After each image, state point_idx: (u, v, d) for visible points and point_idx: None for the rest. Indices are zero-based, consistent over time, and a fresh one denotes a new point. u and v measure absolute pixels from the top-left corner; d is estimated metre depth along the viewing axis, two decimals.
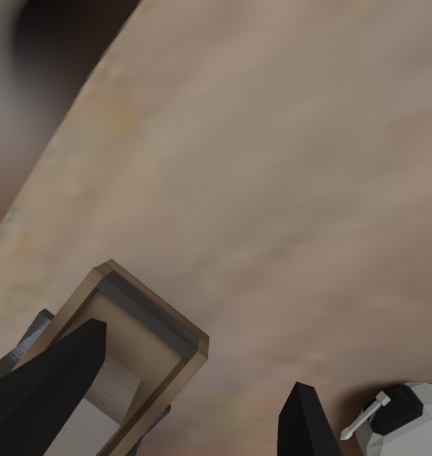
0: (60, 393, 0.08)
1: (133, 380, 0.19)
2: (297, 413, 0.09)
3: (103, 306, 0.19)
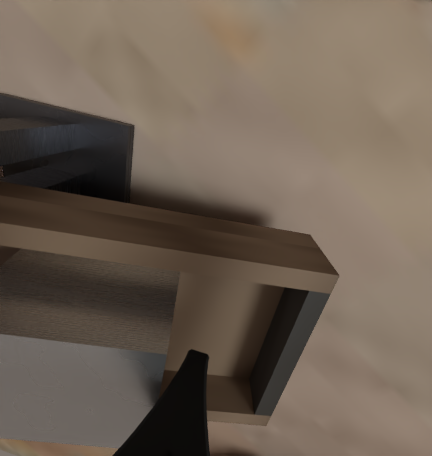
0: None
1: None
2: None
3: None
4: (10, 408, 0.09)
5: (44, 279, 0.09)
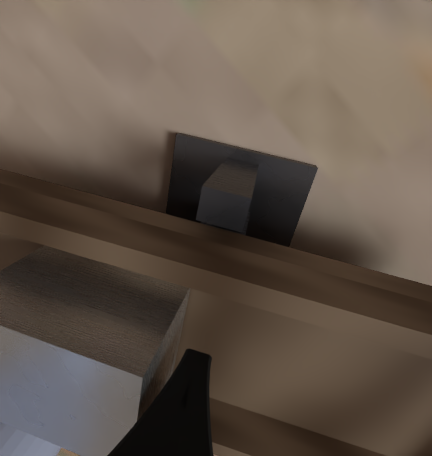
0: None
1: (170, 374, 0.12)
2: None
3: None
4: (5, 396, 0.09)
5: (55, 275, 0.09)
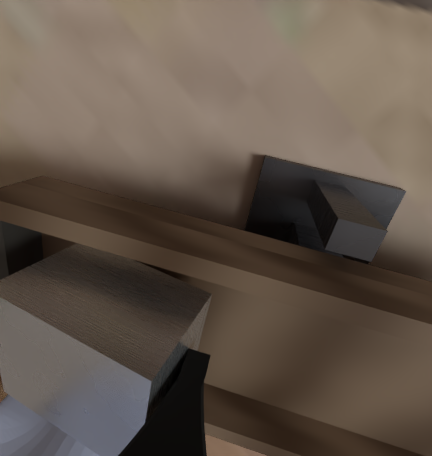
0: None
1: None
2: None
3: None
4: (30, 381, 0.09)
5: (84, 271, 0.10)
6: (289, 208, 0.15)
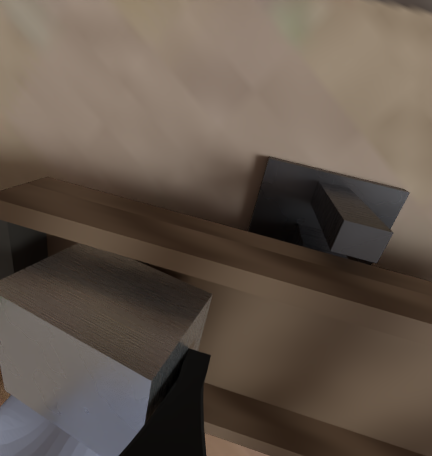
0: None
1: None
2: None
3: None
4: (31, 380, 0.09)
5: (85, 271, 0.10)
6: (293, 209, 0.15)
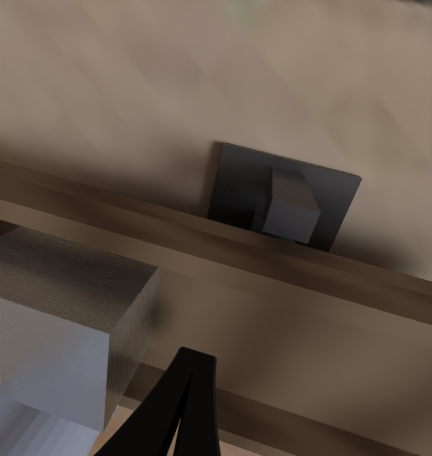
0: (171, 431, 0.08)
1: (145, 347, 0.13)
2: (190, 379, 0.09)
3: None
4: None
5: (32, 251, 0.10)
6: (249, 196, 0.15)
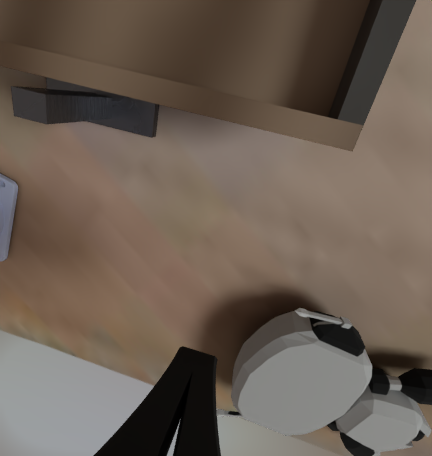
0: (171, 430, 0.08)
1: None
2: (190, 379, 0.09)
3: None
4: None
5: None
6: None
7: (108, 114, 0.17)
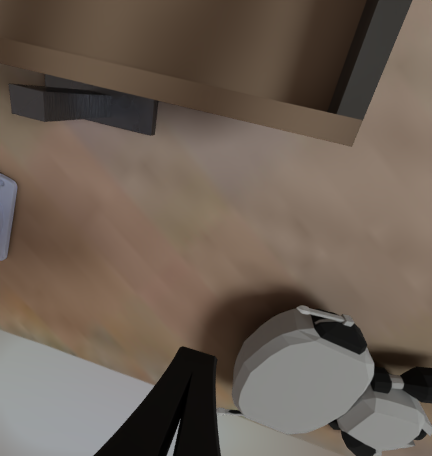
0: (171, 430, 0.08)
1: None
2: (190, 379, 0.09)
3: None
4: None
5: None
6: None
7: (107, 113, 0.16)
